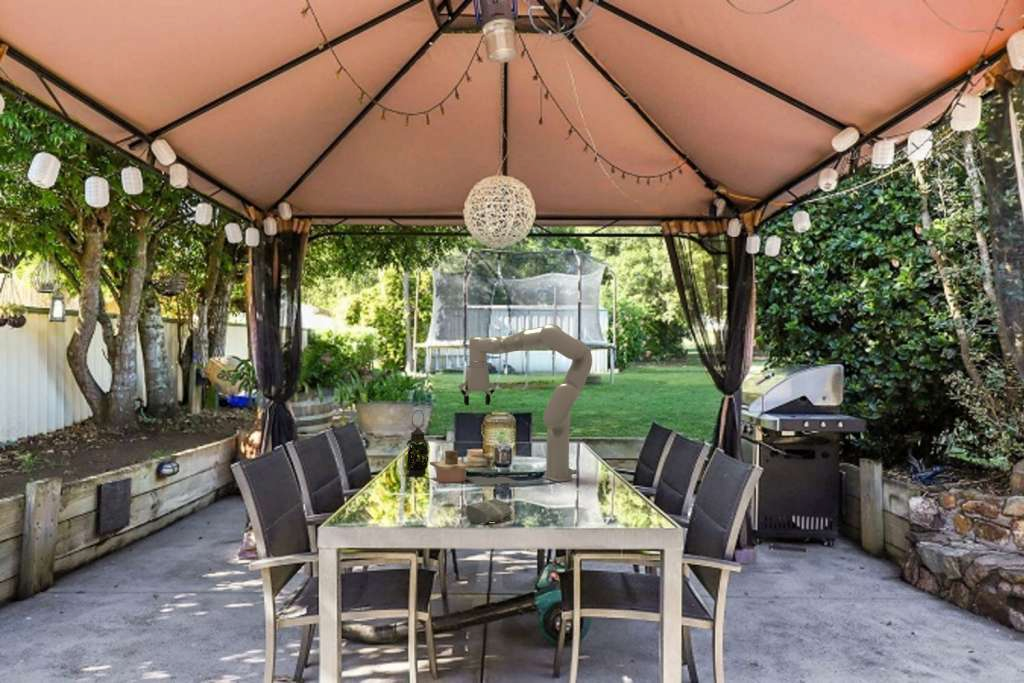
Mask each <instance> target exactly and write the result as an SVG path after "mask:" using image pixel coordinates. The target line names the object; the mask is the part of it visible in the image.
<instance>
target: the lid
mask: <svg viewBox="0 0 1024 683" xmlns="http://www.w3.org/2000/svg"><path fill="white" fill-rule="evenodd" d="M444 457H445V458H444V460H440V461H429V465H430V466H433V467H434V468H435V469H437V468H438V469H440V470H443V469H460V468H466V469H474V466H475V465H474V464H471V463H470V462H467V461H465V460H461V459H459V452H458V451H457V450H445V456H444Z"/></svg>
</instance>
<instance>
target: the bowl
mask: <svg viewBox="0 0 1024 683" xmlns="http://www.w3.org/2000/svg"><path fill="white" fill-rule="evenodd" d="M466 470H467V468H460V469H443V470H440V469H438V468H436V475H435V476H436V481H438V482H441V483H461V482H464V481H466V477H467V475H466V474H467V473H466V472H467V471H466Z"/></svg>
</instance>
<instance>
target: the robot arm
mask: <svg viewBox="0 0 1024 683" xmlns="http://www.w3.org/2000/svg"><path fill="white" fill-rule="evenodd" d="M468 346H469V347H468V348H469V349H468V353H469V354H468V355H469V356H468V360H469V361H468V368H467V369H466V373H465V379H464V382H463V383H461V384H459V385H457V386H458V389H459V392H460V393H461V394H462V395H463V403H464V405H465V406H469V405H470V396H469V394H470V393H473V392H474V393H475V392H476V393H477V392H478V393H479V392H481V393H482V392H484V393H485V394H486V395H485V396H484V397H485V402H484V403H485V405H486V406H490V404H491V396H492V395H493V394H494V393H495V391H496V388H497V385H496V384H494V383H492V382H490V376H489V375H490V374H489V369H488V367H489V366H490V362H488V361H487V354H490V355H501V354H507V353H514V352H518V351H528V350H533V349H538V348H544V347H550V348H551V349H553V350H554V351H555V352H557V353H559V354H560V355H561V356H564V357H565V358H567V359H568V360H572V361H571V365H570V366H569V368H568V370H567V373H566V375H565V377H564V379H563V381H562V382H561V383H559V384H558V385H557V386H556V387H555V389H554V391H553V392H552V394H551V397H550V399H549V402H548V404H547V406H546V407H545V410H544V412H543V417H542V418H543V422H544V424H545V427H546V451H545V452H546V456H545V457H546V458H545V459H546V464H545V473H546V474H543V475H542V479H543V480H546V481H549V482H553V483H554V482H555V483H556V482H557V483H560V482H562V483H563V482H570V481H572V480H573V476H572V475H579V474H580V470H579V469H574V468H573V469H572V468H570V429H571V428H570V427H571V413H570V412H571V411H572V408H573V406H574V405H575V403H576V402H577V401H578V399H579V398H580V395H581V393H582V390H583V388H584V386H585V384H586V382H587V379H588V376H589V375H590V372H591V370H592V365H593V354H592V352H591V350H590V348H589V346H588V345H587V344H586V343H585V342H584V341H582V340H581V339H578V338H575V337H573V336H571V335H570V334H568V333H566V332H565V331H564V330H563V329H562V328H561V327H560V326H559V325H557V324H552V323H549V324H545V325H544V326H540V327H534V328H527V329H523V330H521V331H520V332H517V333H515V334H509V335H503V336H489V337H482V336H472V337H470V338H469V345H468ZM490 387H491V389H490ZM464 389H465V390H464Z"/></svg>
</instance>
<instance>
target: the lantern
mask: <svg viewBox="0 0 1024 683" xmlns="http://www.w3.org/2000/svg"><path fill="white" fill-rule="evenodd" d="M416 412H421V414H422V417H423V418H422V419H423V420H422V424H421V425H420V426H415V425H414V424H415V423H414V421H413V420H411V423H412V425H413V427H414V428H415V430H413V431H412V432H410V435H411V436H410V438H409V439H408V440H407V442H406V446H407V455H406V456H407V460H406V470H407V471H408V476H409V477H413V478H416V477H417V478H421V477H425V475H427V471H426V470H427V467H428V465H429V464H428V463H429V459H430V458H429V456H428V455H429V450H428V443H427V442H428V440H427V439H426V438H425V434H426V433H425V432H424V431H422V430H421V429H420V427H422V426H423V424H424V423H425V422H424V421H425V415H424V412H423V411H422V410H420V409H417V410H415V411H414V412H413V414H412V416H411V419H413V417H414V414H415V413H416Z"/></svg>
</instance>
